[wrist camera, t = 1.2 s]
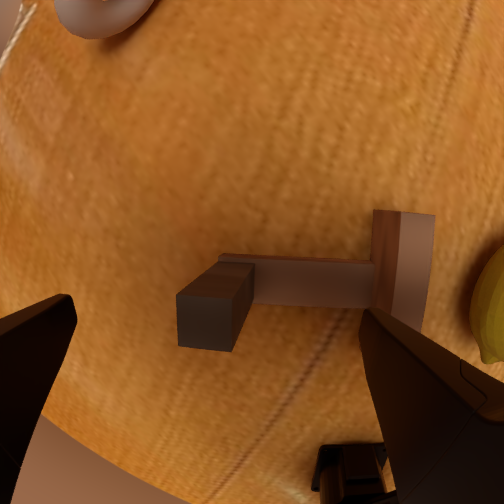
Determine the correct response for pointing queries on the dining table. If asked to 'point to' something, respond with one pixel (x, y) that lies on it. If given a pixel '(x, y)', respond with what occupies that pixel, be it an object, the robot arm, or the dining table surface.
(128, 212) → the dining table surface
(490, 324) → the lemon
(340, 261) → the scraper
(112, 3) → the donut
